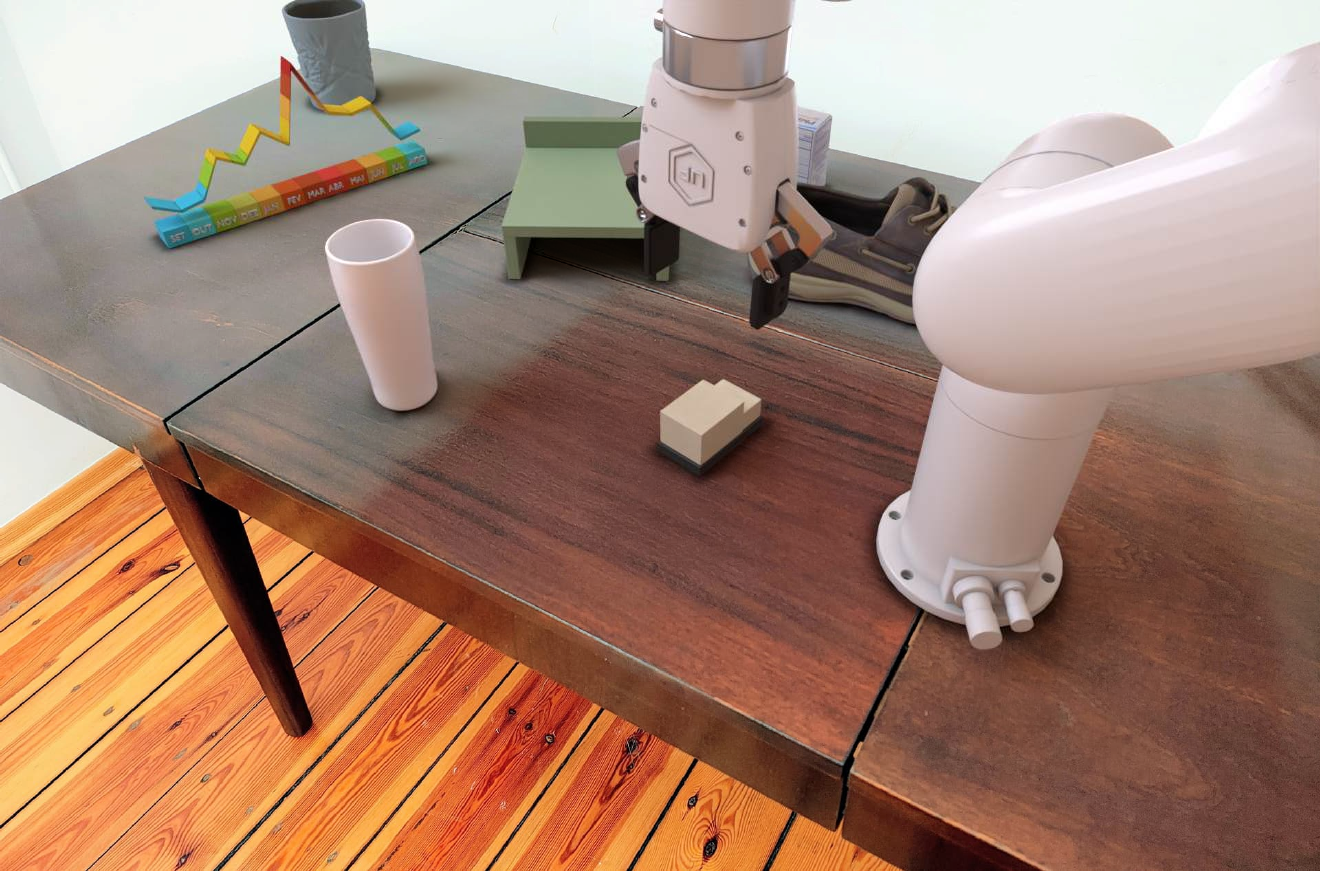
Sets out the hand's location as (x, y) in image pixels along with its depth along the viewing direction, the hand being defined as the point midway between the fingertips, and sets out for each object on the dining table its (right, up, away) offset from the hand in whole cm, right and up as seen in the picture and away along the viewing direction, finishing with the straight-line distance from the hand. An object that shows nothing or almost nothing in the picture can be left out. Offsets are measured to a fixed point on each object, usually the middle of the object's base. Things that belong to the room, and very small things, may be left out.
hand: (712, 292), depth 66 cm
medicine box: (+11, +18, +41) cm, 46 cm away
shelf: (-11, +11, +33) cm, 37 cm away
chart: (-44, +16, +39) cm, 62 cm away
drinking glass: (-25, -7, +14) cm, 30 cm away
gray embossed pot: (-46, +35, +60) cm, 84 cm away
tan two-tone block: (0, -10, +9) cm, 14 cm away
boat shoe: (+19, +3, +24) cm, 31 cm away
